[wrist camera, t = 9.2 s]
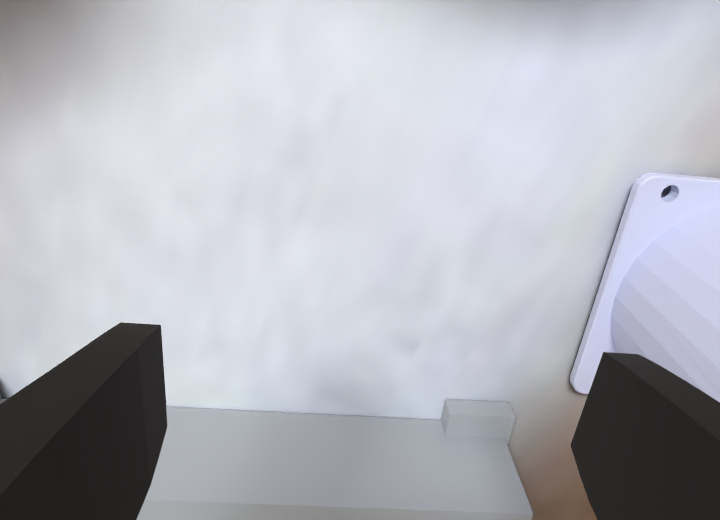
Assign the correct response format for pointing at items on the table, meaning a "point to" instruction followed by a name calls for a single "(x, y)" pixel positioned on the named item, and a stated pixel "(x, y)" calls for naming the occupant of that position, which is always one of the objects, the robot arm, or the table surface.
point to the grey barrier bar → (337, 466)
